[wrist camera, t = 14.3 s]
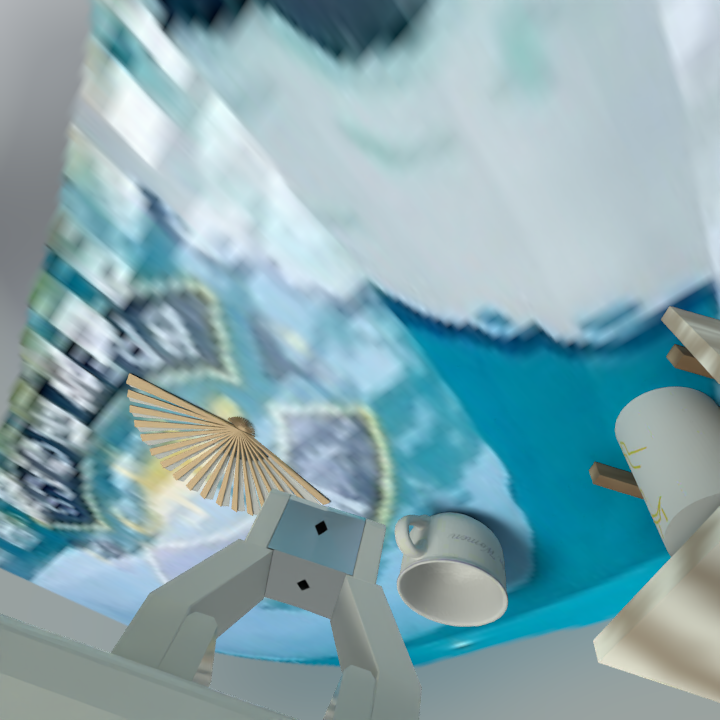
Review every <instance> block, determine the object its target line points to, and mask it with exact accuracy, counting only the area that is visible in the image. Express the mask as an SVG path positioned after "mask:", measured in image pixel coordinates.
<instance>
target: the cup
mask: <svg viewBox="0 0 720 720" xmlns="http://www.w3.org/2000/svg"><path fill="white" fill-rule="evenodd" d="M615 434H616V438H617V440H618V443H619V445H620V447H621V449H622V451H623V454H624V456H625V458H626V460H627V463H628V465H629V467H630V469H631V471H632V474H633V476H634V478H635V480H636V482H637V485H638V487H639V489H640V491H641V493H642V496H643V498H644V500H645V502H646V505H647V507H648V509H649V511H650V513H651V516H652V518H653V520H654V522H655V524H656V527H657V529H658V531H659V533H660V536H661V538H662V540H663V542H664V544H665V547H666V549H667V551H668V553H669V554H670V556H671V557H672V556H673V555H674V554H675V553H676V552H677V551H678V550H679V549H680V548H681V547H682V546H683V544H684V543H685V542H686V541H687V540H688V539H689V538H690V537H691V536H692V535H693V534H694V533H695V532H696V531H697V530H698V529H699V528H700V526H701V525H702V524H703V523H704V522H705V521H706V520H707V519H708V518H709V517H710V516H711V515H712V514H713V513H714V512H715V511H716V510H717V508H718V507H719V506H720V408H719V407H718V406H717V404H716V403H715V402H714V401H713V400H712V399H711V398H710V397H709V396H707V395H706V394H704V393H702V392H700V391H698V390H695V389H691V388H686V387H665V388H659V389H655V390H652V391H649V392H646V393H644V394H642V395H640V396H638V397H637V398H635V399H634V400H632V401H631V402H630V403H628V404H627V405H626V406H625V407H624V409H623V410H622V411H621V413H620V414H619V416H618V418H617V421H616V425H615Z"/></svg>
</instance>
